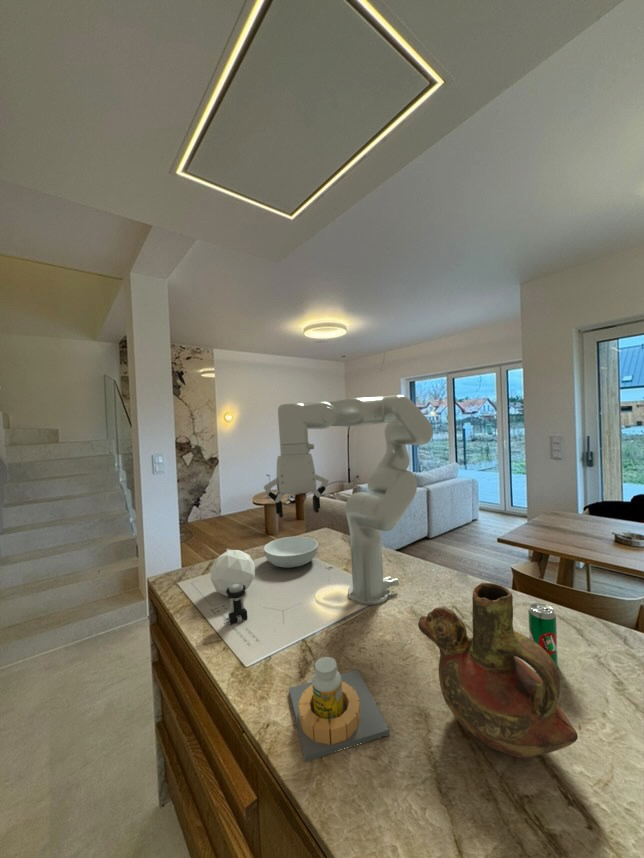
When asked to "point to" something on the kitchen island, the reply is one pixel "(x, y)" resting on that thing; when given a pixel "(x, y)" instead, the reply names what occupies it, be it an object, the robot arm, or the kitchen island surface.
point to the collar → (331, 728)
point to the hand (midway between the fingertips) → (298, 513)
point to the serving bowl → (291, 551)
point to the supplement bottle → (327, 689)
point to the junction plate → (370, 717)
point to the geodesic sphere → (232, 570)
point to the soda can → (543, 628)
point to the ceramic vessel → (498, 677)
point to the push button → (236, 603)
